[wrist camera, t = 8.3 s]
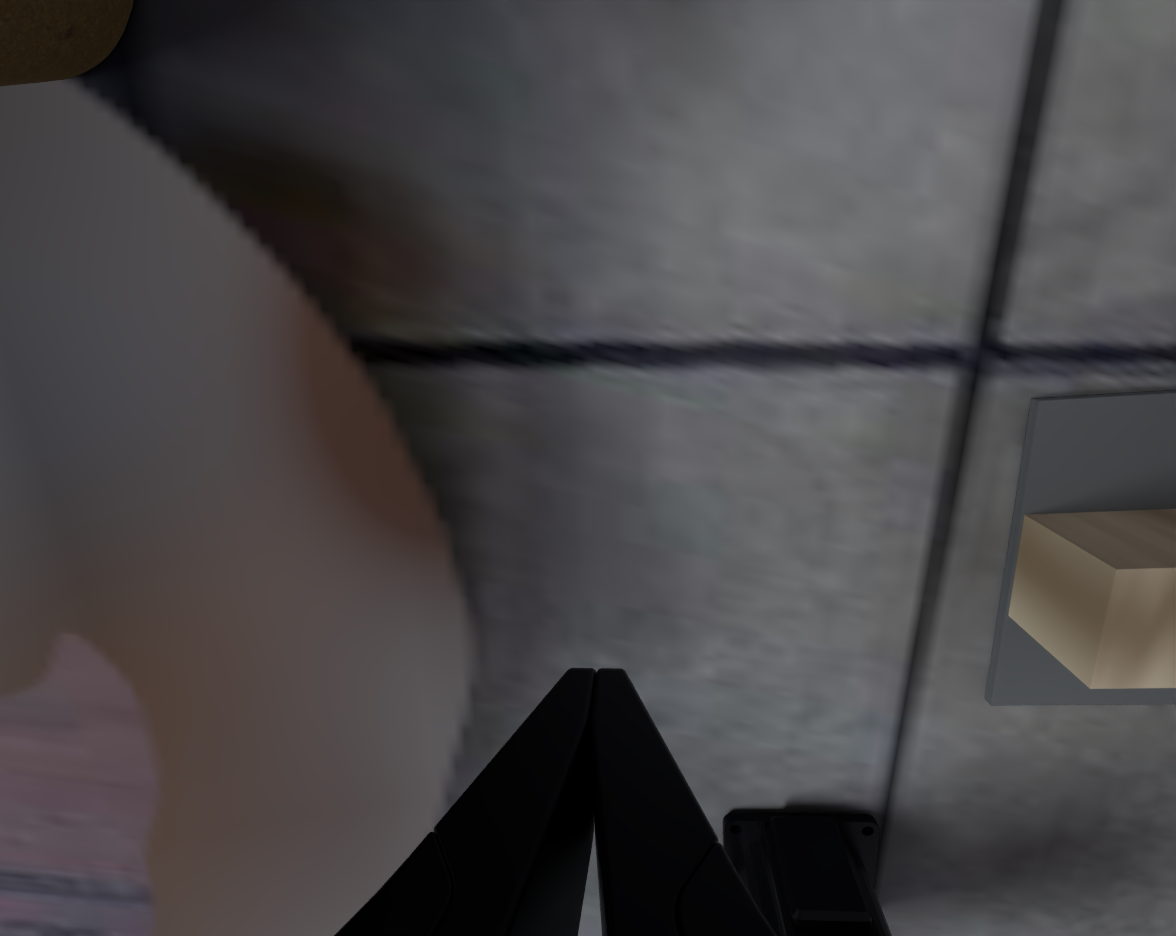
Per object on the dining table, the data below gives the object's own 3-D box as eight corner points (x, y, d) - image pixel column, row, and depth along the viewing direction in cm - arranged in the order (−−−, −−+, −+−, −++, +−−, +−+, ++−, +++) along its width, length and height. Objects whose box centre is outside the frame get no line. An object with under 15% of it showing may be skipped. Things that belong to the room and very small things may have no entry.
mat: (1208, 696, 22) (1218, 703, 21) (984, 698, 23) (990, 705, 22) (1301, 382, 18) (1314, 384, 18) (1031, 398, 19) (1039, 400, 19)
